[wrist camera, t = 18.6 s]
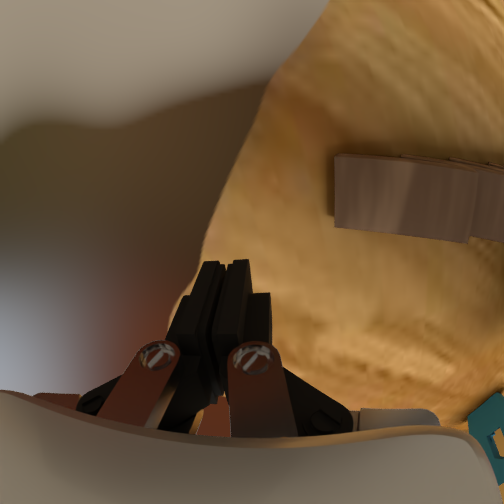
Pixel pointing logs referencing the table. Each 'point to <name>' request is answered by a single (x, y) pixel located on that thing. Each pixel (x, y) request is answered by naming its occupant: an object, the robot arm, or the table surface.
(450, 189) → the walnut tile
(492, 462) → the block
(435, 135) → the table surface
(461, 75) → the table surface
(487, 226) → the walnut tile
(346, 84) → the table surface
